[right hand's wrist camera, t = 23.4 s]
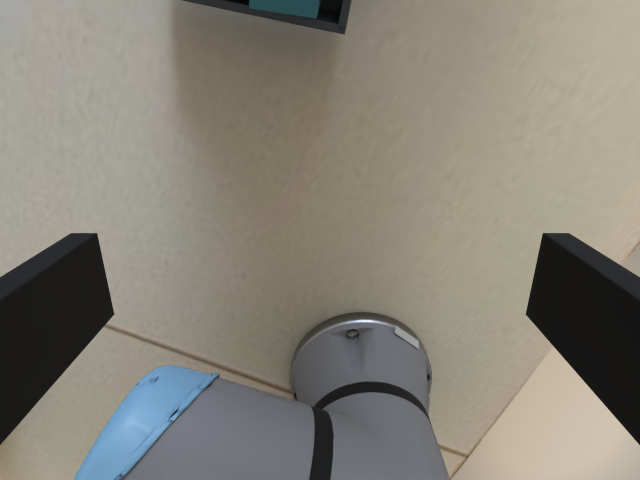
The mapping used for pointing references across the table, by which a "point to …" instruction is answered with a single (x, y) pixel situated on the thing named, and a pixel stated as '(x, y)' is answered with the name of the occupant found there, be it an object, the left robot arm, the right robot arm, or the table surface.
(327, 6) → the tray
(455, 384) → the table surface
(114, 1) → the table surface
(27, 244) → the table surface
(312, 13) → the teal block
